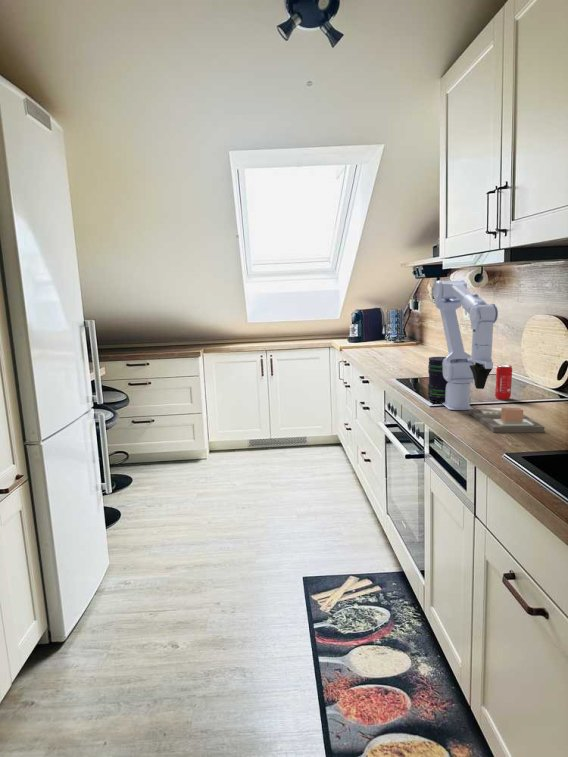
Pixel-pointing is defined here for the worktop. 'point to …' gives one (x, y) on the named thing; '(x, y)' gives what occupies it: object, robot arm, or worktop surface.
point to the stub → (512, 418)
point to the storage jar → (436, 379)
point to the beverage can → (503, 382)
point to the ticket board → (489, 414)
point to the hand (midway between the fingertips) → (479, 388)
